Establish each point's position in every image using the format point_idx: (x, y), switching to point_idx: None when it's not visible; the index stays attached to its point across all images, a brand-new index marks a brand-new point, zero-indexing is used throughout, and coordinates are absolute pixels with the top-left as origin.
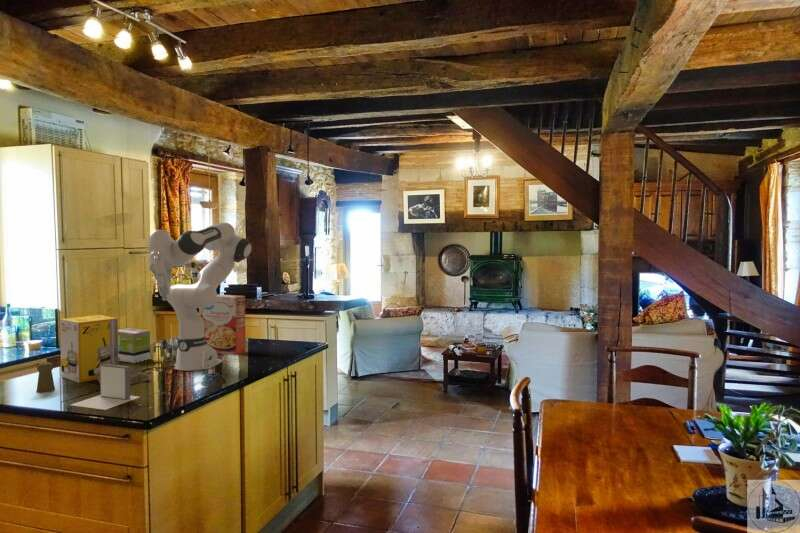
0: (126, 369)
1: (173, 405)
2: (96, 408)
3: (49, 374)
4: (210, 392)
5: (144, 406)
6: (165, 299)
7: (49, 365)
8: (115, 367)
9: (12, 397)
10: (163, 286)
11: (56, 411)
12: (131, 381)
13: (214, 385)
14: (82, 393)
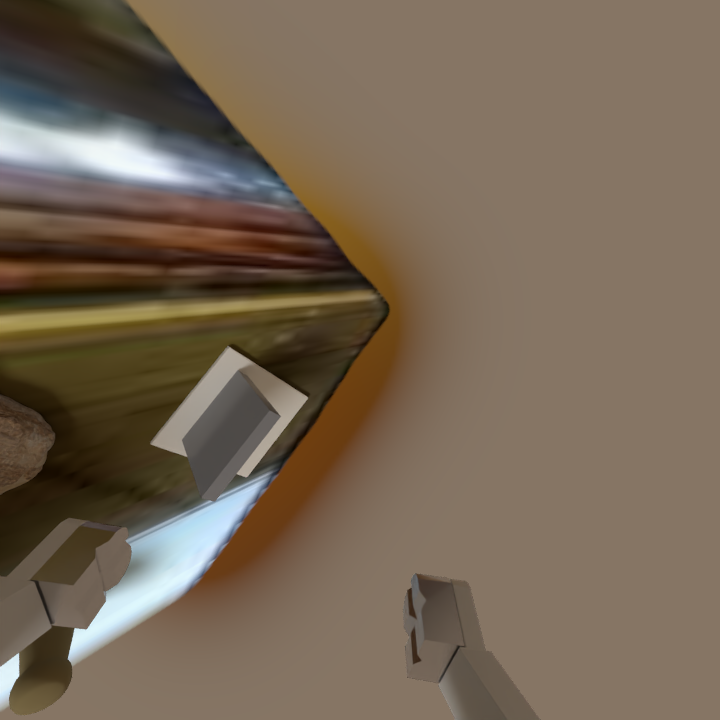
0: (277, 412)
1: (320, 262)
2: (293, 416)
3: (57, 645)
4: (228, 135)
5: (302, 326)
6: (100, 527)
7: (57, 674)
8: (253, 448)
9: (116, 629)
10: (451, 579)
11: (270, 481)
12: (23, 414)
13: (115, 83)
14: (118, 505)
